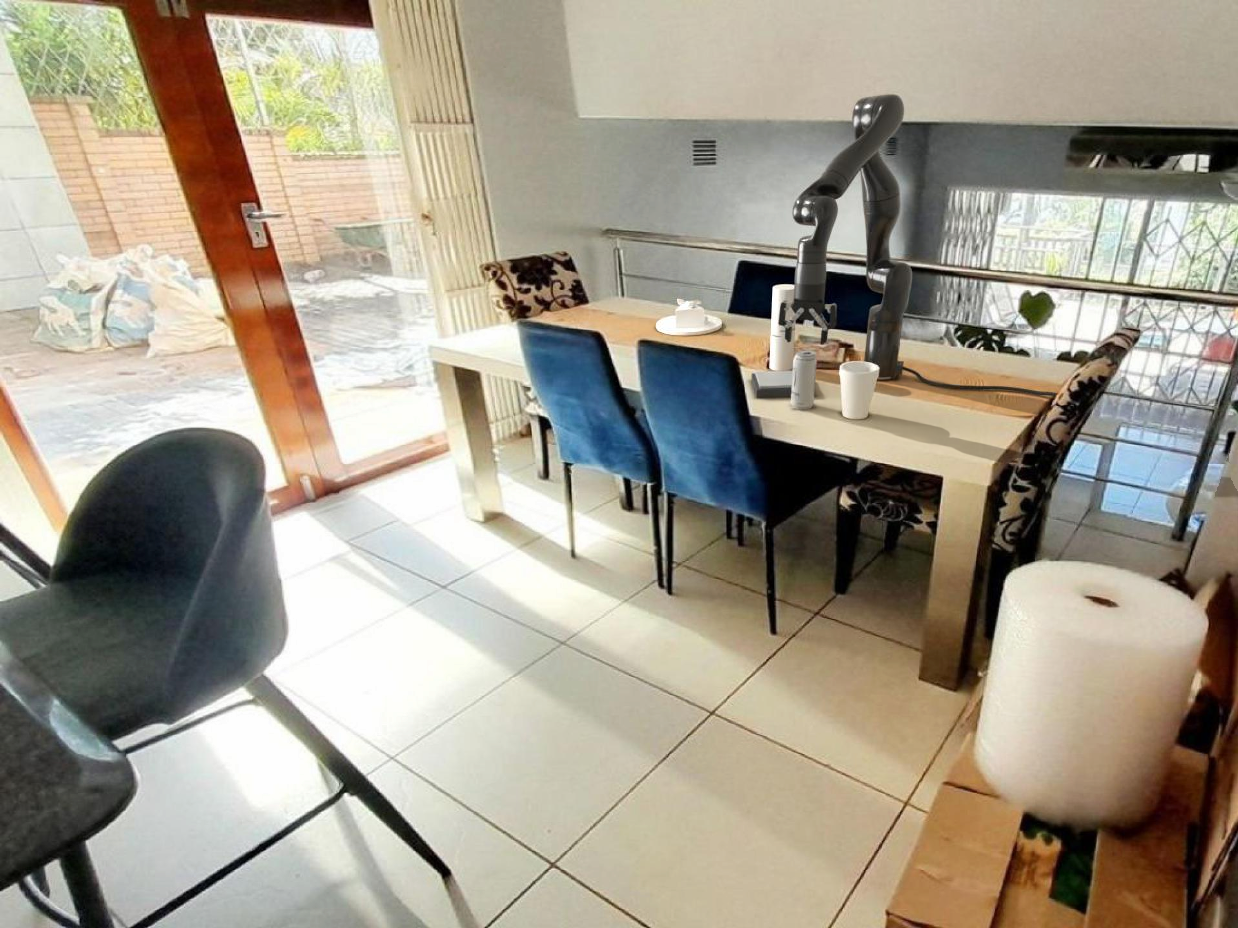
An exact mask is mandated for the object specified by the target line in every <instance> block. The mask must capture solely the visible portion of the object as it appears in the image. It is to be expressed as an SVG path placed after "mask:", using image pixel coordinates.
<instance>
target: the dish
mask: <svg viewBox="0 0 1238 928" xmlns="http://www.w3.org/2000/svg"><path fill="white" fill-rule="evenodd" d="M676 302H677V304H678V305H679V306H678V307H676V309H675V310H674V315H670V316H666V317H663V318H661V319H659V320H657V321H656V324H655V328H656V330H657V331H658V332H660V333H663V334H665V335H672V336H684V337H685V336H686V337H688V336H700V335H706V334H710V333H714V332H716V331H719V330H720V329H721V328H722V325H723V320H722V319H720V318H719V317H716V316H714V315H710V314H705V308H704V307H702V306H700V305H701V304H702V301H701V300H699V299H695V300H690V301H689V300H684V299H682V298H677V300H676Z"/></svg>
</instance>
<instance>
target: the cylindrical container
mask: <svg viewBox="0 0 1238 928" xmlns="http://www.w3.org/2000/svg"><path fill="white" fill-rule="evenodd" d="M793 299H794V284H788V283H786V284H785V283H784V284H776V285H773V286H772V299H771V300H772V301H771V321H770V322H771V323H770V324H771V325H770V348H769V369H770V370H771V371H792V370H793V358H794V357H795V355H794V354H795V341H796V340H795V339H796V321H797V320H796V321H795V322H794V323H793V324H792V325H791V327H792V337H791V341H790V342H787V340H785V327H784V326H782V325H781V326H780V325H779V324H778V322H779V313H780V304H781V303H782V302H783V301H787V302H790V303H792V302H793ZM794 314H795V313H794V311H793V310H792V308H791V307H789V309H788V310H787V311H786V316H785V320H786V321H789V320H790V319H791V318H792V317H793V315H794Z"/></svg>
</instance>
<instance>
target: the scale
mask: <svg viewBox="0 0 1238 928" xmlns="http://www.w3.org/2000/svg"><path fill="white" fill-rule="evenodd" d="M792 373H793V370H788V371H775V370H770V371H769V370H768V371H755V372H752V373H751V379H750V382H751V384H752V388H753V391H754V394H755V398H756V399H766V398H767V399H768V398H771V399H772V398H791V390H792ZM815 392H816V391H815ZM815 392H814V395H815Z"/></svg>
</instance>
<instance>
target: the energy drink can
mask: <svg viewBox="0 0 1238 928" xmlns="http://www.w3.org/2000/svg"><path fill="white" fill-rule="evenodd" d="M817 363H818V359H817V356H816V353H815V351H813V350H808V349H805V350H804V349H803V350H801V349H800V350H797V351H796V352H795V355H794V358H793V369H792V371H793V373H792V390H791V397H790V404H791V405H792V408H793V409H795V410H801V411H804V410H810V409H811V408H812V406H814V403H815V394H814V392H816V391H815V390H816V375H817V365H818V364H817Z"/></svg>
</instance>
